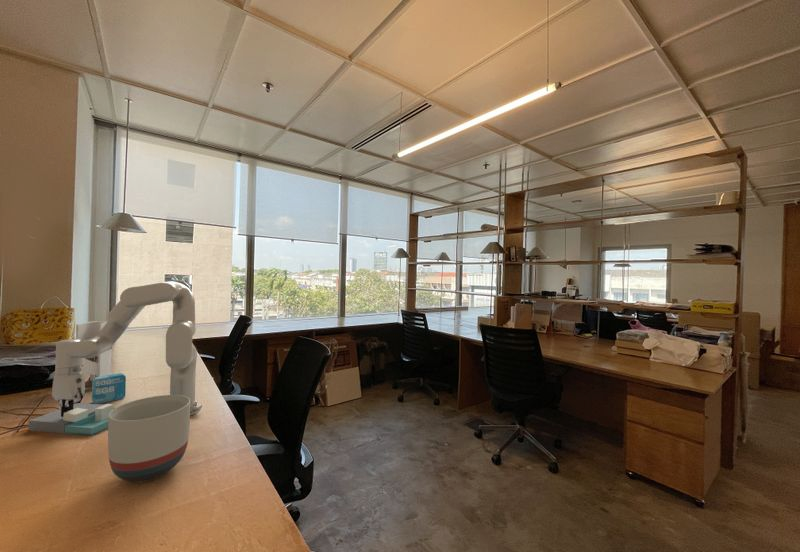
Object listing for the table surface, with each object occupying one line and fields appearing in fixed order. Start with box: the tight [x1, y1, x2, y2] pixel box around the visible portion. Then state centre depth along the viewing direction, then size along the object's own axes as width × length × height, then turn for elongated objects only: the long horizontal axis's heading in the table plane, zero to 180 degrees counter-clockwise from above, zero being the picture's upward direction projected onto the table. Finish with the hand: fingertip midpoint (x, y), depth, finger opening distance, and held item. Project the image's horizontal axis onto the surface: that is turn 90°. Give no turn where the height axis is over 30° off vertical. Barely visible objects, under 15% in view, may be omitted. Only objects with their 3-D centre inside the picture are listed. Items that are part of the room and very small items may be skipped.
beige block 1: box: [63, 408, 88, 422], centre depth 131 cm, size 5×5×3 cm
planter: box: [107, 394, 191, 483], centre depth 102 cm, size 20×20×21 cm
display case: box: [75, 320, 113, 391], centre depth 180 cm, size 11×11×35 cm
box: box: [64, 407, 116, 437], centre depth 135 cm, size 12×18×3 cm, turn 174°
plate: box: [27, 402, 104, 434], centre depth 137 cm, size 16×18×4 cm
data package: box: [91, 372, 127, 404], centre depth 161 cm, size 12×4×12 cm, turn 139°
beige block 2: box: [95, 403, 114, 421], centre depth 140 cm, size 5×5×3 cm
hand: (67, 415), depth 132 cm, fingers closed
